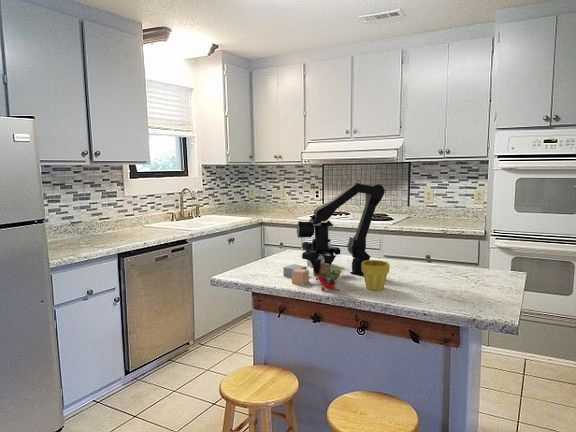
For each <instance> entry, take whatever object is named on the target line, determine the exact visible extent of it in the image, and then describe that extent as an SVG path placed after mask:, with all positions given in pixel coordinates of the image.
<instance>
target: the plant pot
mask: <svg viewBox="0 0 576 432" xmlns="http://www.w3.org/2000/svg"><path fill="white" fill-rule="evenodd" d="M361 268H362V272H363V274H364V275H363V277H364V282H365V288H366V289H367V290H370V291H382V290H384V289H385V284H386V281H387V277H388V274H389V273H390V262H388V261H386V260H385V261H384V260H379V259H370V260H367V261H363V262H362V266H361Z"/></svg>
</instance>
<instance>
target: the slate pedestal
mask: <svg viewBox="0 0 576 432" xmlns="http://www.w3.org/2000/svg"><path fill="white" fill-rule="evenodd" d="M298 268H299V269H307V268H308V266H307V265H306V266H304V265H301V264H300V265H299V264H291V265H287V266H283V276H284V277H287V278H290V279H292V271H293V270H295V269H298ZM307 270H308V269H307Z"/></svg>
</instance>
